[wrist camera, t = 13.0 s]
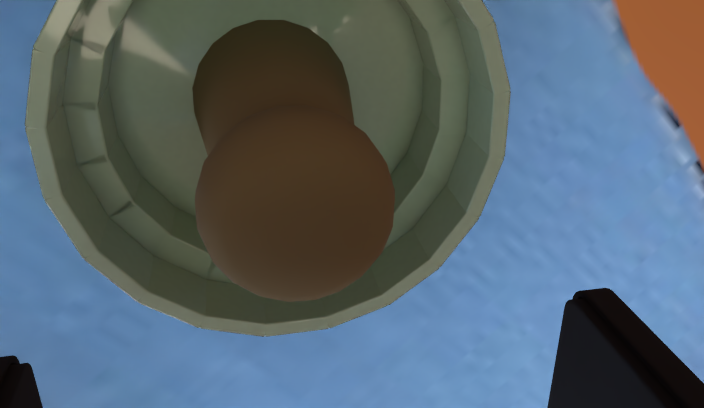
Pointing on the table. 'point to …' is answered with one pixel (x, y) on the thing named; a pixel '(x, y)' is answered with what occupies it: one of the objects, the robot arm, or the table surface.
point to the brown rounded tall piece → (286, 165)
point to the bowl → (189, 155)
